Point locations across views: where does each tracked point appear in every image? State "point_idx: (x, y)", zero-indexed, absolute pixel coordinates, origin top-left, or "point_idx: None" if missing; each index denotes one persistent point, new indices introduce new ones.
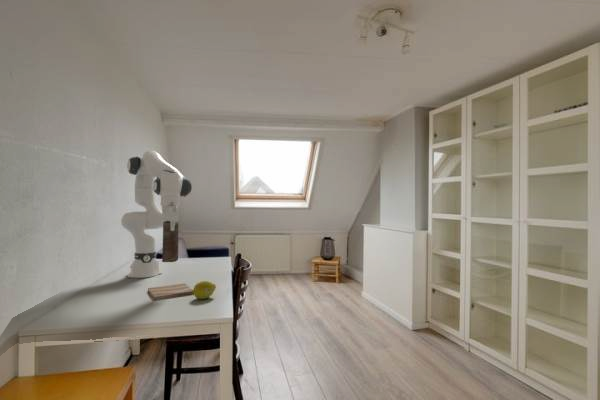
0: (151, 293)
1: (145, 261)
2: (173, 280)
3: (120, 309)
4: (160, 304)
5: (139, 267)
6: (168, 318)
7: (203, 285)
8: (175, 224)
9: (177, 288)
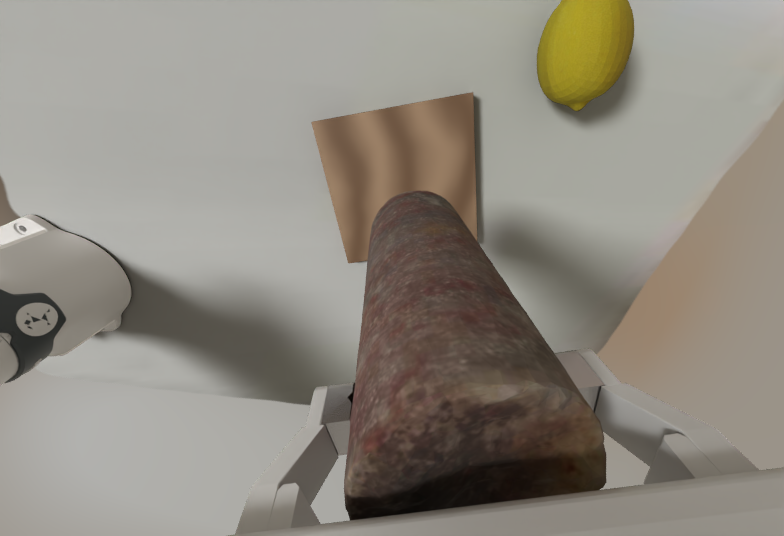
0: None
1: (57, 315)
2: (188, 167)
3: None
4: (532, 219)
5: (88, 319)
6: (682, 199)
7: (629, 52)
8: (588, 406)
9: (397, 161)
